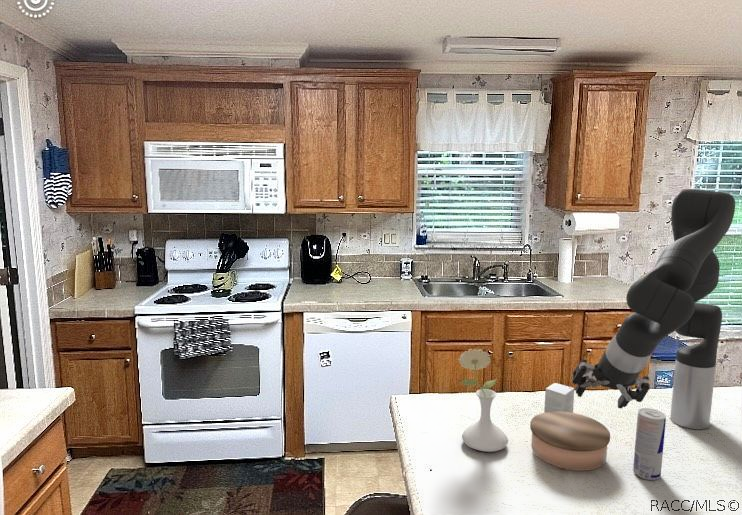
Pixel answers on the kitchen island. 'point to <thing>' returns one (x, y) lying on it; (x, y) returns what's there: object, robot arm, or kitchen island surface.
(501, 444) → the flower in vase
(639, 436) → the beverage can
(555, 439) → the lidded bowl
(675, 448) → the kitchen island surface
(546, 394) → the product box
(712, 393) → the robot arm
